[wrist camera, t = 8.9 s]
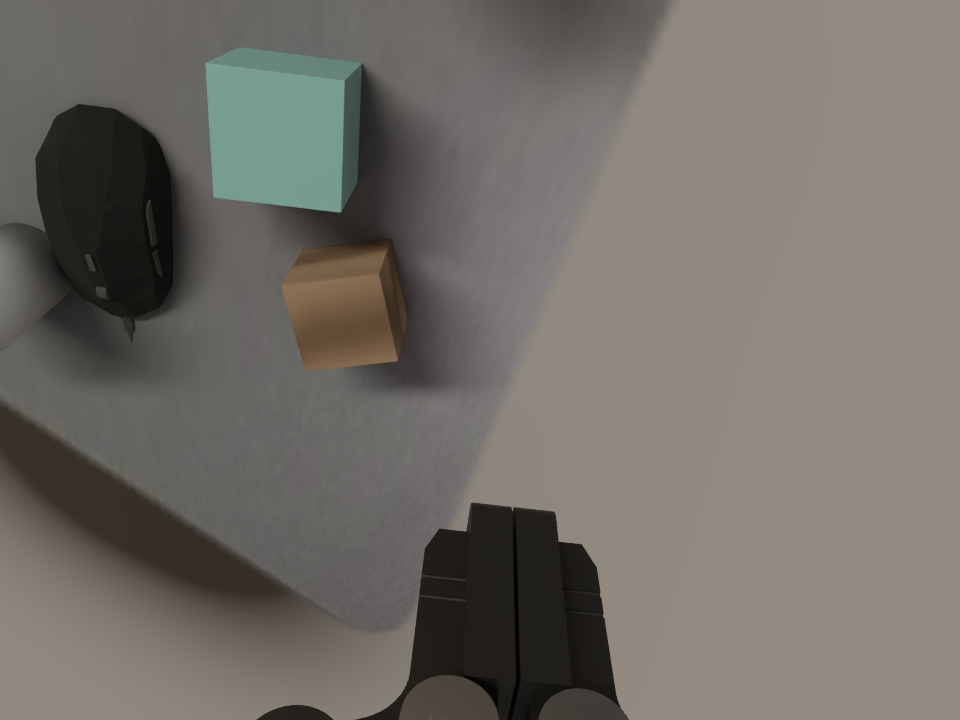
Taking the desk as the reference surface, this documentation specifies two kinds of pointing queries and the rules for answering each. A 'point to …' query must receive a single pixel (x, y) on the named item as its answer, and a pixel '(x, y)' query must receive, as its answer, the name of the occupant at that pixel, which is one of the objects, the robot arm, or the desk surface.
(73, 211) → the gaming mouse
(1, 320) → the grey cylinder
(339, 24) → the desk surface
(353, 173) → the teal block
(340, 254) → the walnut block
